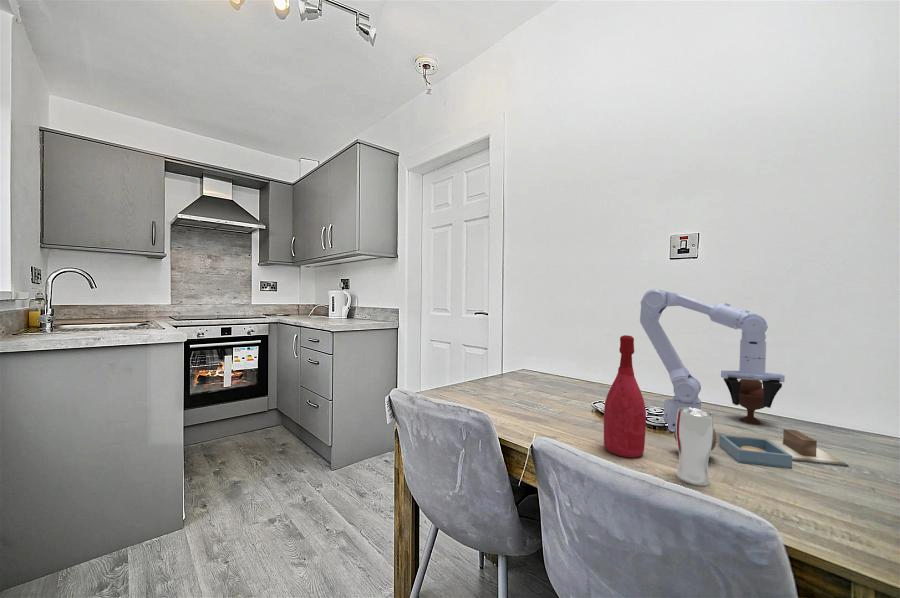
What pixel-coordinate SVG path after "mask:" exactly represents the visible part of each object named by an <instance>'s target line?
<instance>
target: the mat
mask: <svg viewBox="0 0 900 598" xmlns="http://www.w3.org/2000/svg"><path fill="white" fill-rule="evenodd" d="M819 449H820V450H822V449H821V448H819ZM828 454H829V455H831V454H830V453H828ZM837 459H838V458H837ZM838 460H840V459H838ZM792 462H802V463H810V462H812V463H811V464H819V463H823V464H822V465H828V464H831V465H830V466H837V465H840V466H839V467H846V468H849V467H850V465H849V464H847V463H846V462H844V465H843V464H833V463H824V462H815V461H806V460H797V459H792Z"/></svg>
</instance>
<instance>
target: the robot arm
mask: <svg viewBox="0 0 900 598" xmlns="http://www.w3.org/2000/svg"><path fill="white" fill-rule="evenodd" d="M667 307H682V308H686V309H688V310H690V311H691V310H692V311H695V312H699V313H700V314H704V315H707V316H708V317H709V319H710V321H711V322H714V323H716V324H719V325H722V326H724V327H728V328H731V329H734V330H738V329H739V330H741V339H740V340H739V342H740V343H739V370H721V371H720V377H721V378H722V379H723V381H724V383H725V385H726V387H727V389H728V391H729V394H730V398H731V402H732V405H734V406H740V405H739V391H740V386H741V382H739V381H740V380H741V379H748V380H759V381H761V383H762V388H763V390H764V399H763V403H764V406H765V408H768V409H770V408H771V407H772V405H773V404H772V403H773V401H774V399H775V397H776V396H777V394H778V393H779V391H780V390H781V389H782V388H783V383H785V377H786V375H784V374H782V373H774V372H773V373H771V372H766V363H767V362H766V359H767V341H766V338H767V334H766V332H767V331H768V329H769V328H768V327H769V326H768V323H767V321H766V320H765V318H764V317H762V316H760V315H759V314H757V313H750V310H748V309H745V310H744V309H739V308H737V307H734V306H731V304H730V303H727V302H725V303H721V302H719V303H716V304H713V305H712V304H710V303H707V302H704V301H701V300H699V299H695V298H693V297H690V296H688V295H684V294H681V293H677V292H672V291H665V290H662V289H657V288H653V289H649V290H648V291H646V292H645V293H644V295H643V296H642V298H641V300H640V314H639V322H640V324H641V326H642V329H643V331H644V332H645V334H646V335H647V338H648V339H649V340H650V342H651V345H652V346H653V348H654V349H655V351H656V353H657V356H658V357H659V358H660V360H661V362H662V364H663V365H664V367H665V370H666V371H667V372H668V375H669V380H670V381H671V384H672V386H673V393H674V395H673V397H672V398H665V400H664V402H663V420H664V422H665V423H667V424H668V428H667V430H668V431H669V432H671V433H672V432H673V433H674V432H675V430H676V421H677V413H678V408H682V407H688V408H697V409H702V400H701V399H700V398H699V394H700V392H701V390H702V387H701V383H700V381H699V380H698V379H697V378H695V377H694V376H693V375H692V373H690V371H689V370H688V368H687V367H686V366H685V365H684V363H683V360H681V358H680V357H679V354H678V353H677V351H676V349H675V347H674V346H673V345H672V342H671V341H670V339H669V337H668V335H667V334H666V332H665V331H664V329H663V327H662V325H661V323H660V318H661V316H662V314H663V311H664V310H665V309H666V308H667ZM749 377H754V378H749Z"/></svg>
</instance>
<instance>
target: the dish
mask: <svg viewBox="0 0 900 598" xmlns="http://www.w3.org/2000/svg"><path fill="white" fill-rule="evenodd" d="M768 440H769V439H767V438H766V439H765V438H758V437H757V438H756V437H745V436H737V435H726V434H719V443H718V446H719V447H720V448H721V449H723V450H724V451H725V452H726V453H727V454H728V455H730V456H731V457H732V458H733V459H734V460H735V461H737V463H740V464H751V465H758V466H765V467H777V468H784V469H793V461H792V455H790V454H789V453H787V452H786V451H784V450H782V449H781V448H779V447H778V446H776V445H775V444H773V443H772V442H770V441H768Z"/></svg>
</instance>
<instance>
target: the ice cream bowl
mask: <svg viewBox="0 0 900 598" xmlns="http://www.w3.org/2000/svg"><path fill="white" fill-rule="evenodd" d="M749 378H754V377H749ZM738 381H739V382H741V386H740V391H739V405H738V406H741V407H743V408H744V409H746V411H747V412H746V413H747V415H745V416H743V417H740V419H739V420H740V422H743V423H745V422H746V424H750V423H751V425H761V424H762V423H761V420H759V419H758V418H756V417H755V411H757V410H762V409H764V408H766V407H765V406H764V403H763V399H764V390H763V384H762V380H748V379H739V380H738Z"/></svg>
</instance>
